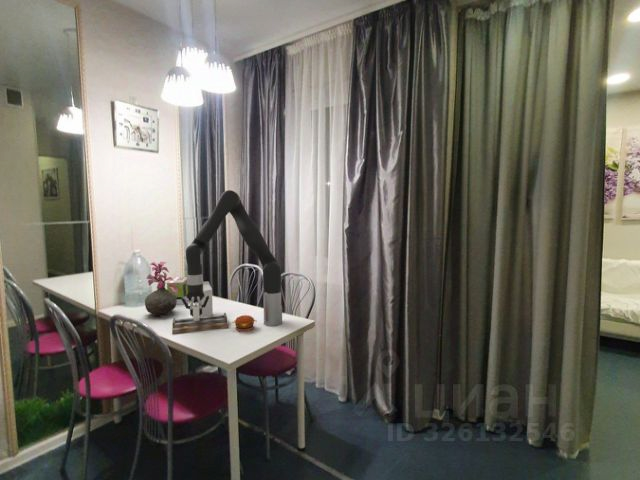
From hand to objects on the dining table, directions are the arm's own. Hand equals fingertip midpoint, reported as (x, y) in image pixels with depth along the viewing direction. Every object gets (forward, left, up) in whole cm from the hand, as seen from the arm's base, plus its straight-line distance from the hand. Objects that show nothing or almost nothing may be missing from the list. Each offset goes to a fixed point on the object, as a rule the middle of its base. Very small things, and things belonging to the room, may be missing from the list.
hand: (196, 315), depth 169 cm
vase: (+18, -26, -6) cm, 32 cm away
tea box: (+10, -49, -6) cm, 50 cm away
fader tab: (0, 0, -4) cm, 4 cm away
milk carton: (-4, -17, -6) cm, 18 cm away
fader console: (-2, 0, -6) cm, 6 cm away
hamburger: (-23, +11, -6) cm, 26 cm away
